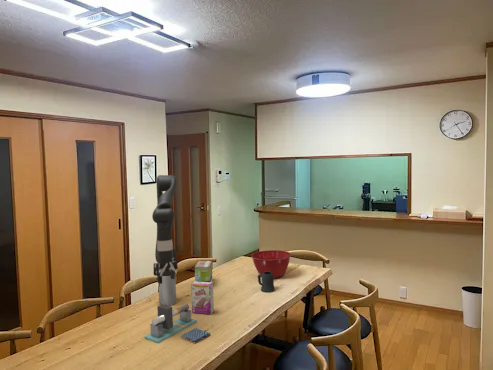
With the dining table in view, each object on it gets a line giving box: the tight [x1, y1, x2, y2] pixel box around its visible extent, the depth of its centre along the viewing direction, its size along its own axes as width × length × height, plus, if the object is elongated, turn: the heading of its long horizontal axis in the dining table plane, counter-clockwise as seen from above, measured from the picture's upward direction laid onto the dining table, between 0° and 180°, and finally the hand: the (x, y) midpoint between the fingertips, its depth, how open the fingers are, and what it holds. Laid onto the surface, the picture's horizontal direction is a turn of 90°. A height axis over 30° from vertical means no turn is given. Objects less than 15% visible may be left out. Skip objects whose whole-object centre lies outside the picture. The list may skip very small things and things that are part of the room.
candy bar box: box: [190, 280, 215, 316], centre depth 197 cm, size 11×5×16 cm, turn 74°
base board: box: [144, 318, 198, 344], centre depth 177 cm, size 26×9×1 cm, turn 145°
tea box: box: [194, 260, 213, 283], centre depth 243 cm, size 15×10×15 cm, turn 179°
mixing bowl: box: [250, 249, 292, 279], centre depth 259 cm, size 28×28×15 cm
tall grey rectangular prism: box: [156, 304, 174, 330], centre depth 173 cm, size 3×7×10 cm, turn 55°
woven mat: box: [180, 327, 211, 345], centre depth 169 cm, size 10×11×2 cm
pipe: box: [149, 303, 192, 338], centre depth 177 cm, size 22×5×9 cm, turn 145°
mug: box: [257, 271, 276, 294], centre depth 230 cm, size 12×9×11 cm
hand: (166, 281), depth 180 cm, fingers open, 8 cm apart
